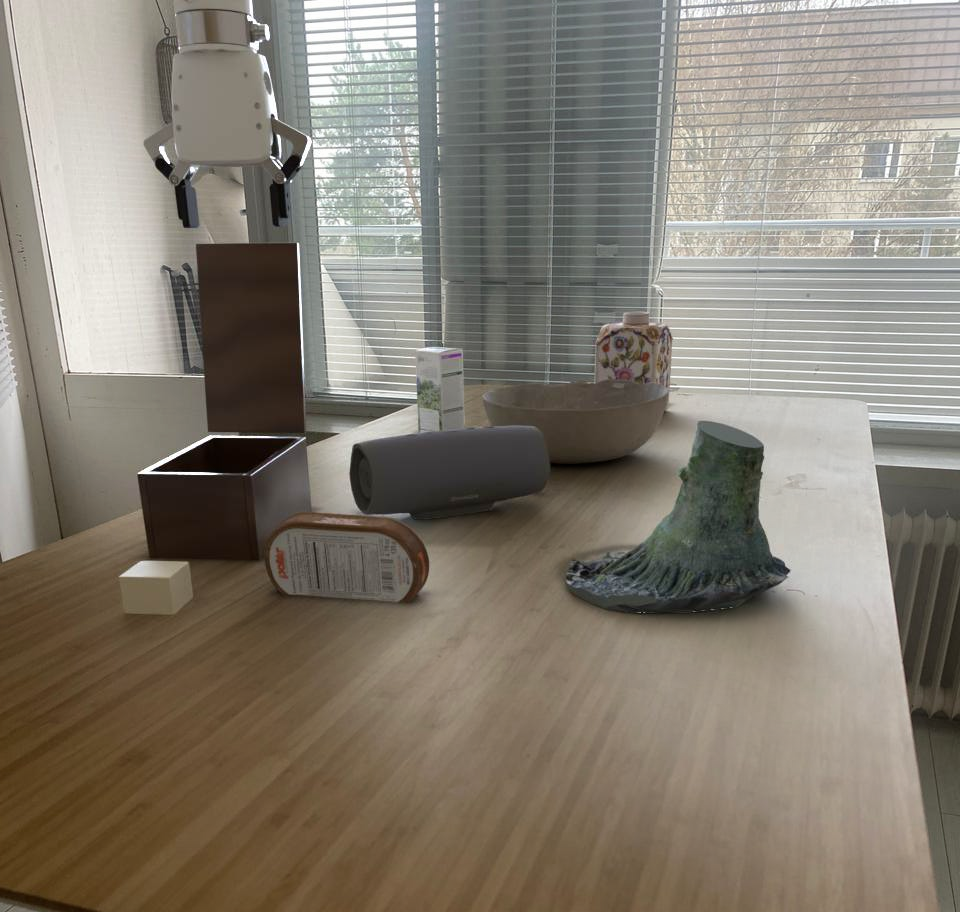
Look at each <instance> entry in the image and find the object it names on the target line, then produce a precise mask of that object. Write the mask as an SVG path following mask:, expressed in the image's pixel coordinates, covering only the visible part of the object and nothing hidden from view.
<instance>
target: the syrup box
mask: <svg viewBox="0 0 960 912" xmlns="http://www.w3.org/2000/svg"><path fill="white" fill-rule="evenodd" d="M414 357H415V358H414V359H415V379H416V380H415V381H416V383H415V384H416V402H417V403H416V405H417V425H418V426H417V427H418V428H417V430H418V433H424V432H432V431H440V430H446V429H464V428H466V427H465V402H464V401H465V392H464V391H465V389H464V351H463V348H455V347H442V346H427V347H421V348H419V349H414Z"/></svg>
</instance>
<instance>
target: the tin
mask: <svg viewBox="0 0 960 912" xmlns="http://www.w3.org/2000/svg"><path fill="white" fill-rule="evenodd" d="M263 561H264V566H265V570H266V573H267V575H268V578H269V580H270V582H271V583H272V585H273V586H274V587H275V589H277V591H278V592H279V593H281V594H282V595H289V596H290V595H291V596H292V595H294V596H295V595H296V596H297V595H298V596H310V597H312V596H313V597H323V598H324V597H326V598H336V599H337V598H338V599H349V600H350V599H352V600H364V601H365V600H366V601H367V600H368V601H381V602H382V601H384V602H394V603H400V604H402V603H403V604H408V603H411V602H412V600H413V599H414V598H415V597H416V596H417V595H418V594H419V593H420V592H421V590H422V589H423V588H424V586H425V585H426V583H427V581H428V578H429V573H430V558H429V553H428V550H427V547H426V546H425V544H424V542H423V540H422V539H421V537H420V536H419V534H418V533H417V532H416V531H415V530H414V529H412V528H411V527H410V526H409V525H407V524H406V523H404V522H402V521H400V520H398V519H395V518H393V517H387V516H379V515H361V514H347V513H344V514H343V513H332V512H319V511H318V512H317V511H312V512H300V513H296V514H293V515H291V516H289V517H288V518H286V519H285V520H283V521H282V522H281V523H280V525H279V526H278V527H277V528H276V529H275V530H274V531H273V532H272V533H271V535H270V536H269V538H268V540H267V542H266V544H265V548H264V557H263Z"/></svg>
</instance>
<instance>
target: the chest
mask: <svg viewBox="0 0 960 912" xmlns="http://www.w3.org/2000/svg"><path fill="white" fill-rule="evenodd" d="M308 462H309V460H308V447H307V437H306V436H259V435H257V436H255V435H254V436H253V435H250V436H249V435H247V436H245V435H241V436H240V435H209V436H206V437H205V438H203V439H201V440H199V441H197V442H194V443H193V444H191V445H190V446H188V447H186V448H184V449H182V450H180V451H178V452H175V453H174V454H172V455H170V456H169V457H166V458H164V459H162V460H160V461H158V462H156V463H154V464H153V465H150V466H149V467H147V468H145V469H144V470H141V471H140V472H137V473H136V476H137V477H136V478H137V483H138V490H139V498H140V503H141V511H142V516H143V517H142V518H143V524H144V530H145V538H146V545H147V552H148V557H149V559H179V560H180V559H181V560H182V559H183V560H222V561H223V560H224V561H261V560H262V559H264V548H265V544H266V542H267V540H268V538H269V536H270V535H271V533H272V532H273V531H274V530H275V529H276V528H277V527H278V526H279V525H280V523H281V522H282V521H283V520H285V519H286V518H288V517H289V516H291V515H293V514H296V513H300V512H313V510H312V498H311V484H310V473H309V463H308Z"/></svg>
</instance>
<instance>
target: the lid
mask: <svg viewBox="0 0 960 912" xmlns="http://www.w3.org/2000/svg"><path fill="white" fill-rule="evenodd" d="M195 256H196V270H197V271H196V272H197V273H196V274H197V286H198V302H199V303H198V304H199V318H200V335H201V347H202V350H201V351H202V363H203V379H204V394H205V407H206V408H205V409H206V424H207V425H206V426H207V433H250V434H251V433H254V434H257V433H258V434H259V433H260V434H261V433H262V434H267V433H268V434H306V433H307V413H306V412H307V411H306V385H305V363H304V361H305V360H304V339H303V338H304V337H303V313H302V312H303V311H302V309H303V308H302V287H301V264H300V263H301V262H300V261H301V260H300V259H301V258H300V243H298V242H229V243H228V242H227V243H226V242H223V243H221V242H219V243H214V242H213V243H212V242H211V243H210V242H209V243H207V242H206V243H195Z"/></svg>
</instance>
